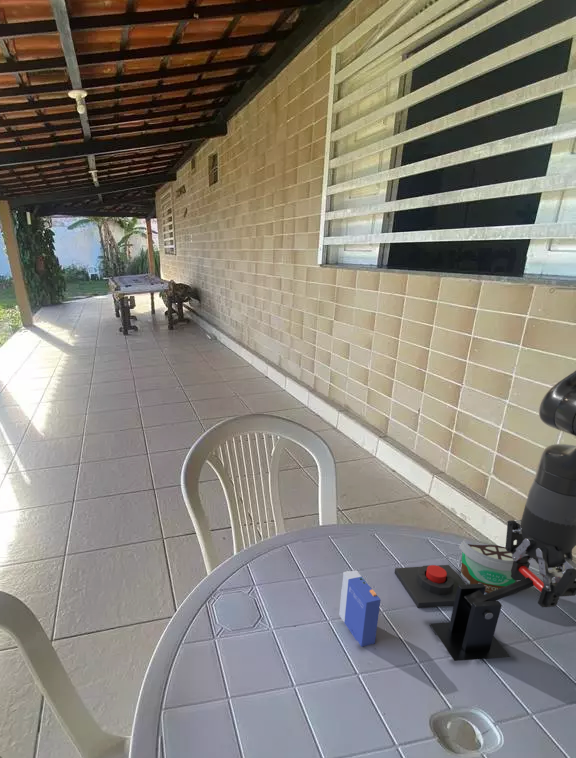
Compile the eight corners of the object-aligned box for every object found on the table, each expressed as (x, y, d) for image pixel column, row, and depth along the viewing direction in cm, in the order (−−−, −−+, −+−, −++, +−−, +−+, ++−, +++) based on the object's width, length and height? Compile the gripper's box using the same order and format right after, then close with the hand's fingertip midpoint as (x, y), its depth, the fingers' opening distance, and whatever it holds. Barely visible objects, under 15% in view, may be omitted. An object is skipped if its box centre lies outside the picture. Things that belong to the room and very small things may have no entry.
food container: (462, 597, 87) (471, 558, 84) (452, 576, 93) (460, 539, 89) (531, 606, 84) (543, 566, 81) (517, 584, 90) (528, 545, 86)
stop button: (439, 571, 90) (440, 564, 89) (449, 583, 86) (450, 576, 86) (422, 572, 90) (423, 565, 89) (431, 584, 86) (433, 577, 86)
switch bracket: (479, 624, 81) (492, 576, 77) (510, 662, 74) (525, 611, 69) (428, 628, 81) (437, 579, 77) (453, 666, 74) (465, 615, 69)
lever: (527, 572, 75) (525, 562, 74) (553, 595, 70) (550, 585, 69) (461, 598, 77) (458, 589, 76) (481, 622, 72) (478, 613, 71)
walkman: (374, 648, 78) (381, 597, 73) (360, 651, 77) (366, 601, 73) (351, 614, 85) (356, 567, 81) (338, 617, 85) (342, 570, 80)
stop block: (447, 572, 94) (450, 557, 93) (476, 607, 85) (480, 592, 83) (393, 575, 94) (395, 561, 93) (417, 611, 85) (420, 596, 83)
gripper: (623, 536, 60) (589, 624, 66) (543, 484, 74) (521, 561, 80) (571, 539, 60) (542, 627, 66) (500, 487, 74) (481, 564, 80)
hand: (531, 591), depth 73 cm, fingers closed on lever, 5 cm apart
